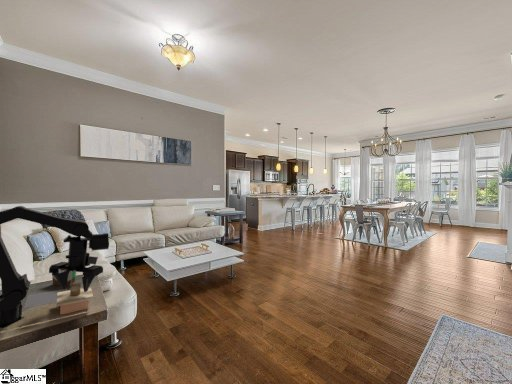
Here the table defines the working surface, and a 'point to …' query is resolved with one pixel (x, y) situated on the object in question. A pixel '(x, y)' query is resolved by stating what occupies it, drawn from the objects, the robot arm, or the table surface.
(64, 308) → the open box
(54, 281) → the food container
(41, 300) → the mat
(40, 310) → the table surface
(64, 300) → the lid
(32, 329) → the table surface
